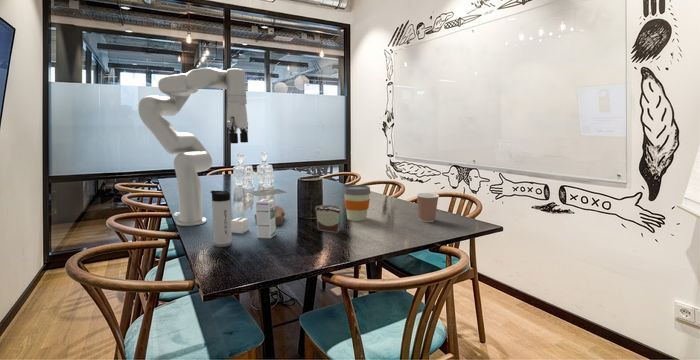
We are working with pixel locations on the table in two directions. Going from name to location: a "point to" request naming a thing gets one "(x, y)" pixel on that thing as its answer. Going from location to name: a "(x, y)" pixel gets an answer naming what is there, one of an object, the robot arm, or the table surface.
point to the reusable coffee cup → (356, 201)
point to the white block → (239, 225)
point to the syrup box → (266, 218)
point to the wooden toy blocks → (277, 215)
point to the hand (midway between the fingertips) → (239, 142)
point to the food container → (328, 217)
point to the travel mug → (221, 218)
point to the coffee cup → (427, 206)
